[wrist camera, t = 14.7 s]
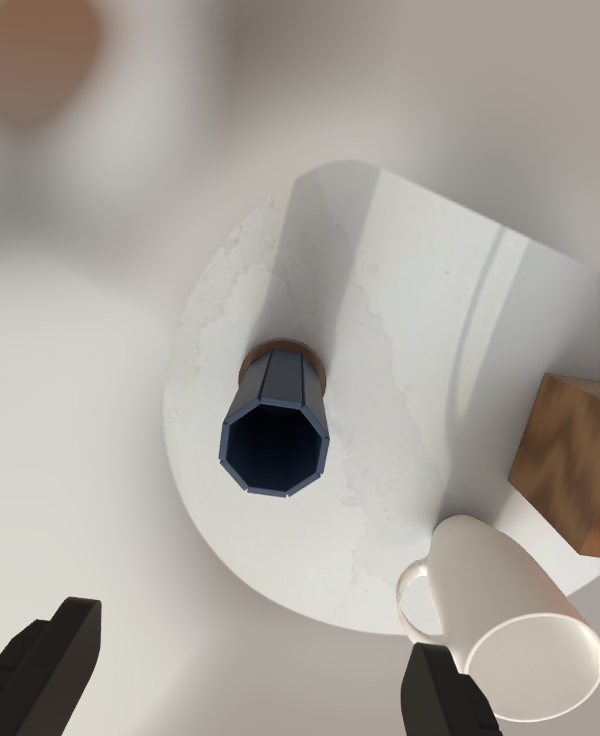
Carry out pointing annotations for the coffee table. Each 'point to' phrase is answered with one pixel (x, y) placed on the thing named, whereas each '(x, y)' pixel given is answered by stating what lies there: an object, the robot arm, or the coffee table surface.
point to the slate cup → (276, 426)
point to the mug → (505, 622)
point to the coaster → (290, 346)
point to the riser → (564, 460)
